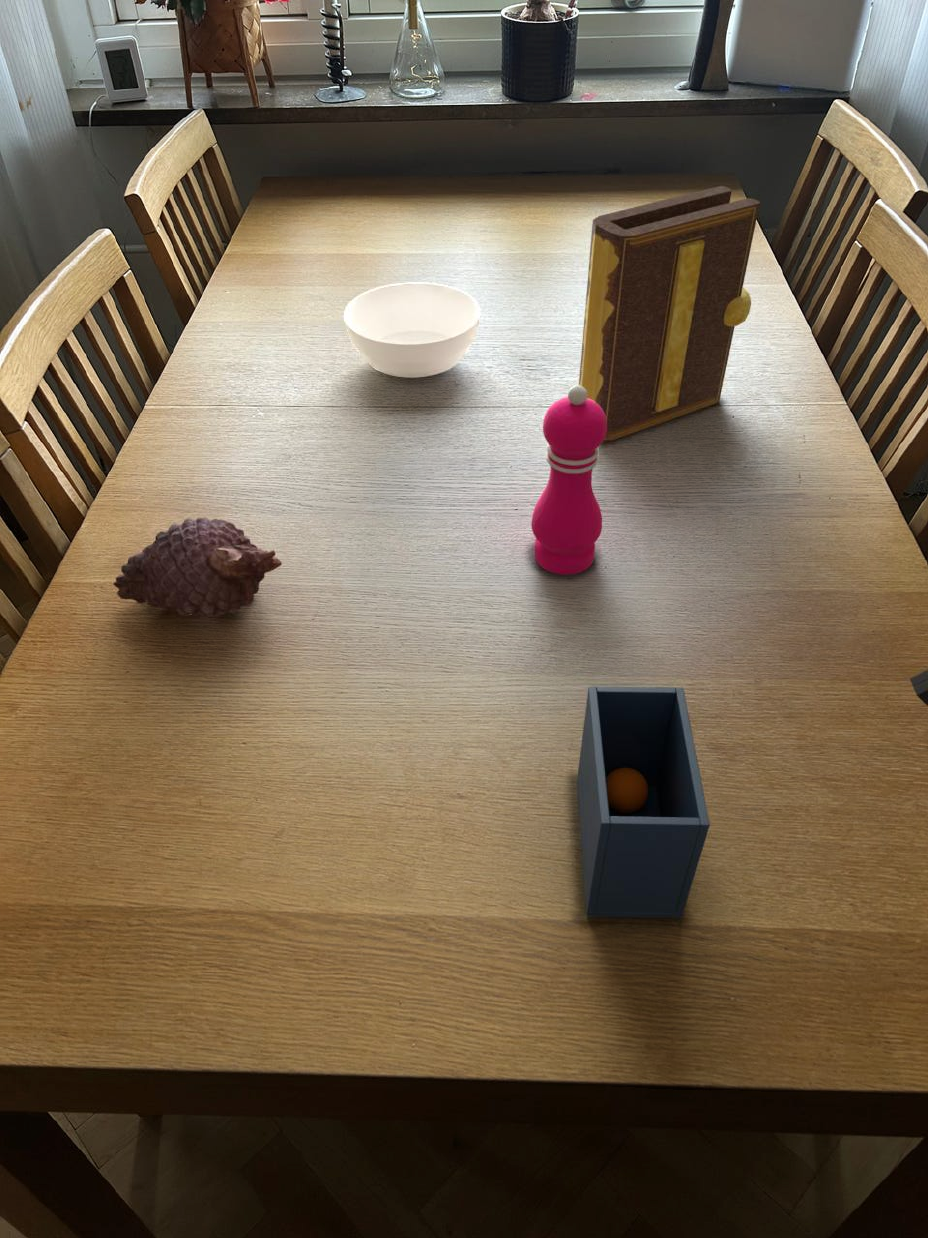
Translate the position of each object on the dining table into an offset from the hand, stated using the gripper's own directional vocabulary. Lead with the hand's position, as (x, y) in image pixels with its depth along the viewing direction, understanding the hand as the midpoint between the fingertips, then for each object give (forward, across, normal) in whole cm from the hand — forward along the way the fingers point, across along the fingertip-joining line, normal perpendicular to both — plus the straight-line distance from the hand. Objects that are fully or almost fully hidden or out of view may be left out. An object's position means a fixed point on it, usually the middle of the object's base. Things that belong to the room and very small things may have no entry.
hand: (923, 696), depth 60 cm
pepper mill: (+27, +35, +2) cm, 44 cm away
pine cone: (+53, +27, +27) cm, 65 cm away
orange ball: (+24, +3, 0) cm, 24 cm away
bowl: (+41, +76, +15) cm, 88 cm away
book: (+18, +64, -7) cm, 67 cm away
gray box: (+25, 0, 0) cm, 25 cm away
